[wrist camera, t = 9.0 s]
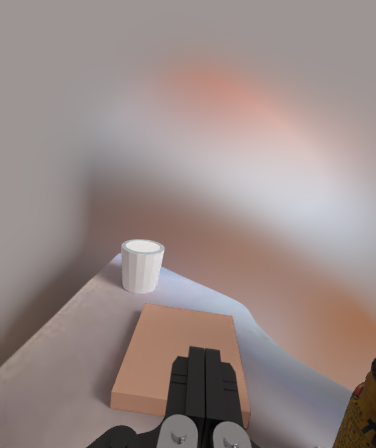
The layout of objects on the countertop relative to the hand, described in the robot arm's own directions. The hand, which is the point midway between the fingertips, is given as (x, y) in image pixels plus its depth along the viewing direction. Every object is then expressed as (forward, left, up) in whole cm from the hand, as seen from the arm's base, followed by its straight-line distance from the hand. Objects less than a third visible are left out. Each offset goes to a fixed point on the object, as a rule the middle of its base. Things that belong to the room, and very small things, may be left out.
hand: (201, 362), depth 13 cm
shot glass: (+22, -21, -13) cm, 33 cm away
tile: (+4, -6, -12) cm, 14 cm away
